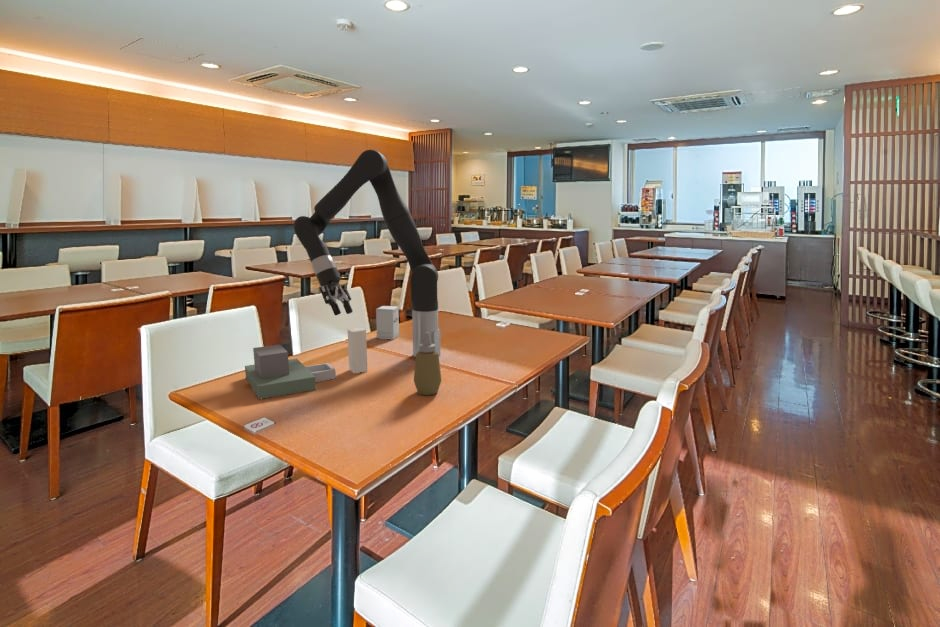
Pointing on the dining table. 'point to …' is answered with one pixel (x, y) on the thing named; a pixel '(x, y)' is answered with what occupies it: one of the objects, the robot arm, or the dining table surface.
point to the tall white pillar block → (357, 350)
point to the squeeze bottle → (427, 368)
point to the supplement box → (387, 322)
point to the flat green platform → (283, 373)
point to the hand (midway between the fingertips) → (344, 313)
